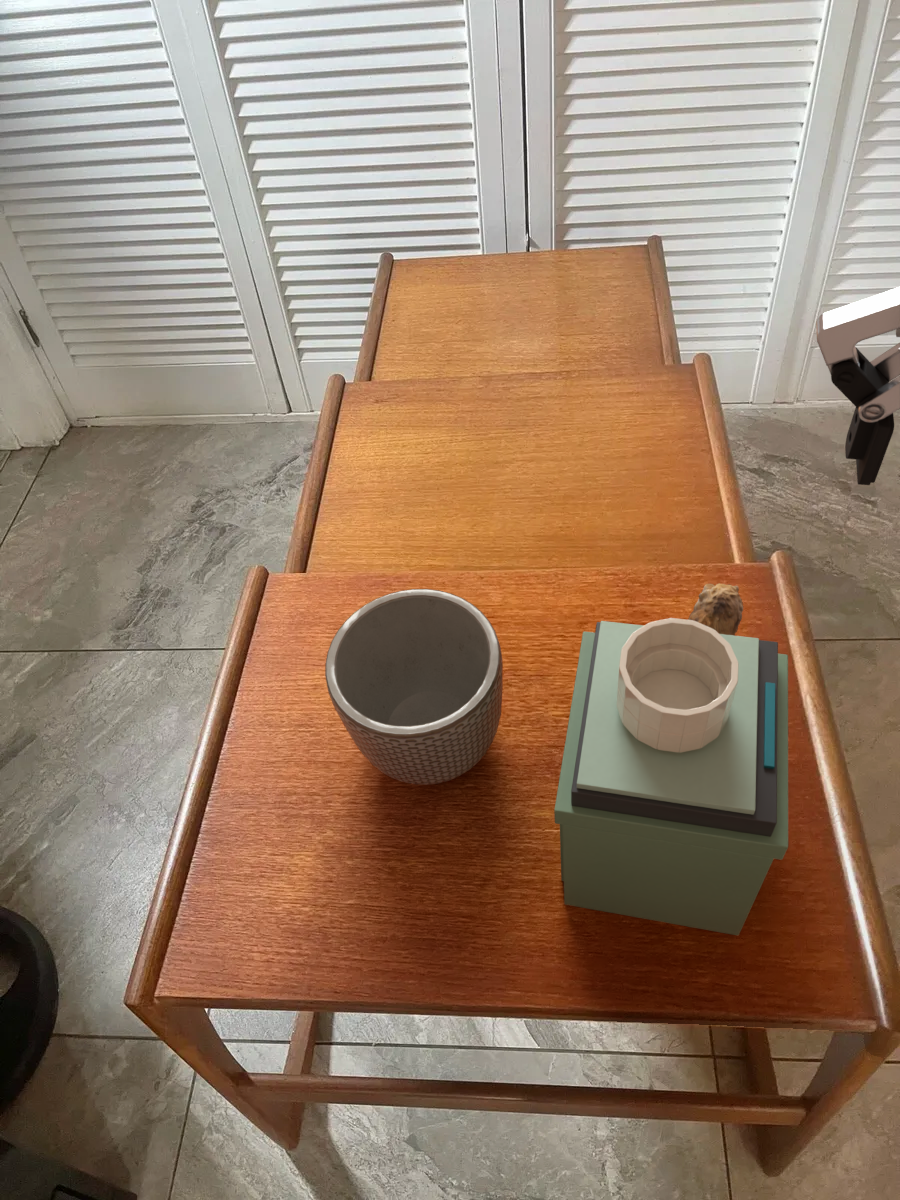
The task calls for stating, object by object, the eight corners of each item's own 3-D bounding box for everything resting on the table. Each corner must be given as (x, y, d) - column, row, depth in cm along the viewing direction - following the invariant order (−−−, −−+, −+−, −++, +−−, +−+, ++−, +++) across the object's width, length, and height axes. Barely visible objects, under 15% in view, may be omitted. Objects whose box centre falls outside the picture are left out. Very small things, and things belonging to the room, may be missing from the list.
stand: (750, 768, 75) (788, 654, 62) (745, 937, 67) (788, 847, 54) (581, 744, 78) (583, 630, 65) (557, 903, 70) (554, 810, 57)
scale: (772, 658, 62) (779, 636, 60) (771, 837, 54) (778, 819, 52) (596, 638, 64) (596, 616, 62) (571, 806, 57) (571, 787, 55)
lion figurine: (707, 622, 84) (720, 560, 77) (747, 661, 81) (763, 600, 74) (578, 698, 81) (579, 641, 74) (615, 742, 78) (619, 687, 71)
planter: (338, 701, 84) (306, 618, 73) (480, 653, 85) (467, 566, 75) (378, 834, 75) (347, 762, 65) (534, 779, 77) (528, 700, 66)
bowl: (729, 670, 58) (740, 624, 55) (724, 763, 55) (736, 722, 51) (622, 657, 60) (626, 612, 56) (611, 747, 56) (613, 706, 52)
